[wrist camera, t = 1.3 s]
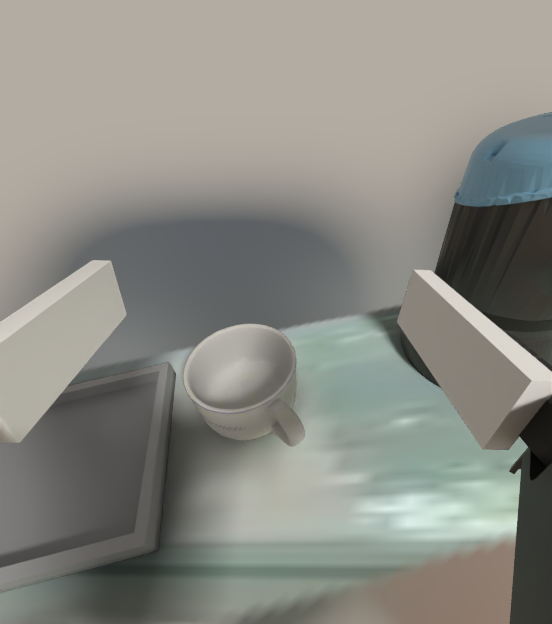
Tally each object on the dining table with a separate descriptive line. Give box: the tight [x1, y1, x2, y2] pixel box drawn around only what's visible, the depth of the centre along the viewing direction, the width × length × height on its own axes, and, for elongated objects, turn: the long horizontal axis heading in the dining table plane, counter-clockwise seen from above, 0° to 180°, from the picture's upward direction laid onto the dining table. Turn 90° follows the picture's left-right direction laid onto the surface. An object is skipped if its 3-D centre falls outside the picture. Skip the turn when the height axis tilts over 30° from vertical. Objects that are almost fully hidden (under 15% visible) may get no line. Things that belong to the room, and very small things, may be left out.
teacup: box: [183, 324, 305, 446], centre depth 28 cm, size 14×11×8 cm
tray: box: [0, 362, 176, 593], centre depth 28 cm, size 24×18×2 cm
